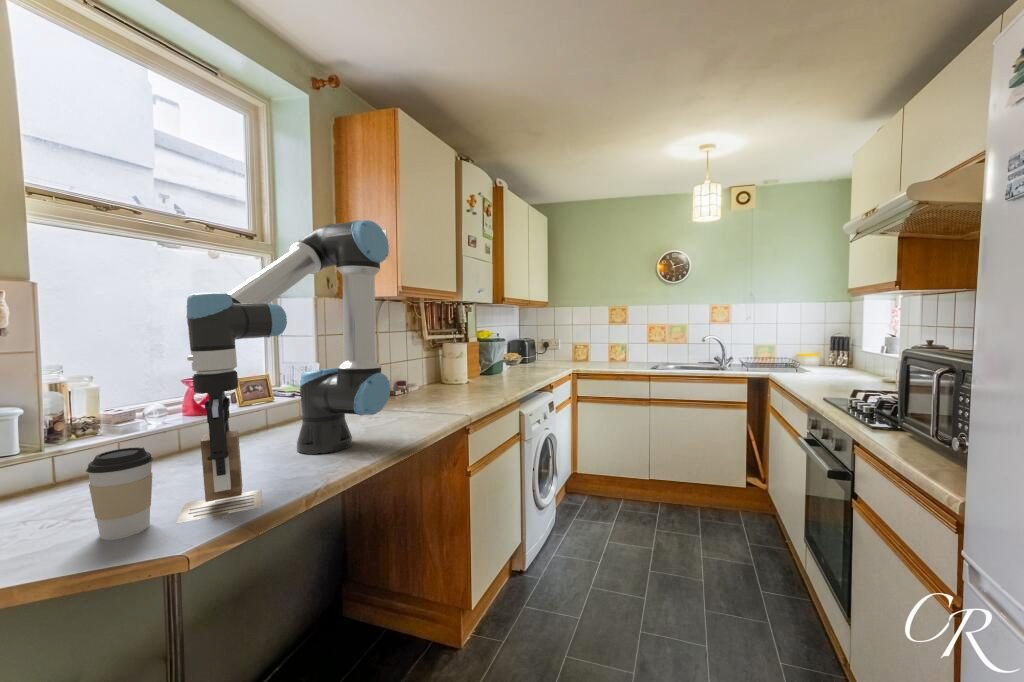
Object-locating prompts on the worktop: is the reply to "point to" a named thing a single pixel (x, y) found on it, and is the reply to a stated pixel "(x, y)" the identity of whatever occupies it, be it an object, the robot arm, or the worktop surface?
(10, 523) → the worktop surface
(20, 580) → the worktop surface
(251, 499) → the cream flat slotted plate
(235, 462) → the walnut block
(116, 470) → the coffee cup
